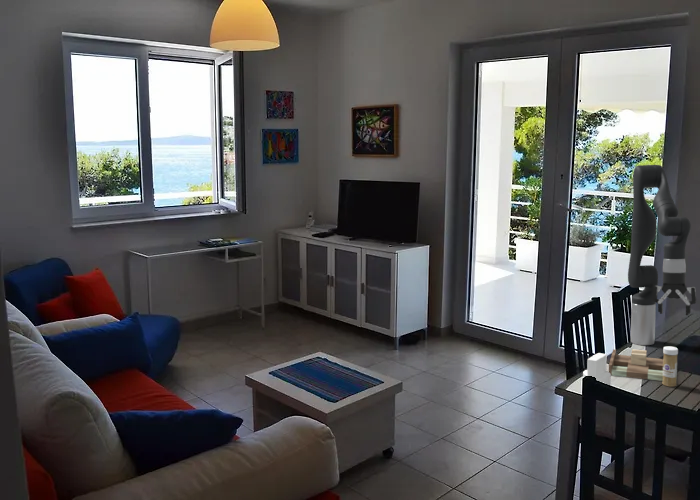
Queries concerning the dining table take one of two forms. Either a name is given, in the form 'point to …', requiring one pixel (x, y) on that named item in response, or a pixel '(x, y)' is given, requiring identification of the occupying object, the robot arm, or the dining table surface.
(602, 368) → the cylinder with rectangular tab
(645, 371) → the trap deck
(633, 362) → the beech block
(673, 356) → the sprinkles bottle
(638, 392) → the dining table surface
